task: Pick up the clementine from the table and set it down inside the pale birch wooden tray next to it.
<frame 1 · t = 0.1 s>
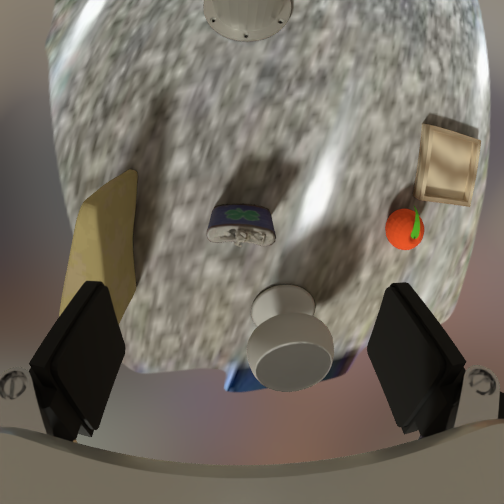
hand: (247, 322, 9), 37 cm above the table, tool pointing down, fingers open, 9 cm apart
chalice: (282, 309, 55), on the table
clementine: (396, 218, 48), on the table
flask: (241, 212, 46), on the table
cheese: (121, 230, 47), on the table
tray: (445, 165, 43), on the table
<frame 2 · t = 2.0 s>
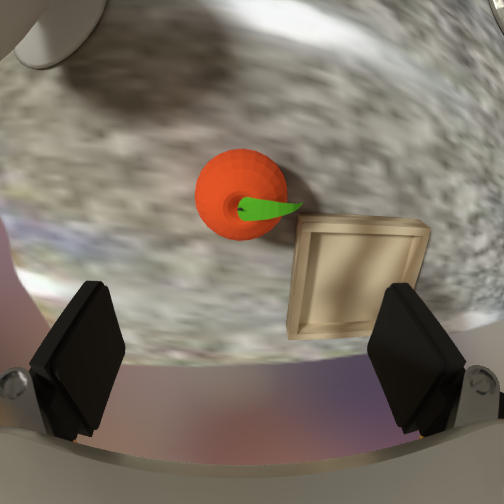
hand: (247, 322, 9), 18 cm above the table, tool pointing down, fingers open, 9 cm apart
chalice: (58, 14, 16), on the table
clementine: (247, 183, 25), on the table
tray: (352, 274, 29), on the table
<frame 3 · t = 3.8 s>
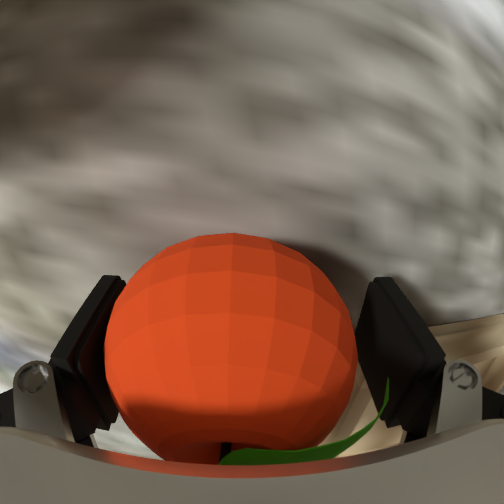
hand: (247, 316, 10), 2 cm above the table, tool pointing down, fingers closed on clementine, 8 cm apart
clementine: (246, 287, 11), on the table, touching gripper
tray: (413, 397, 15), on the table
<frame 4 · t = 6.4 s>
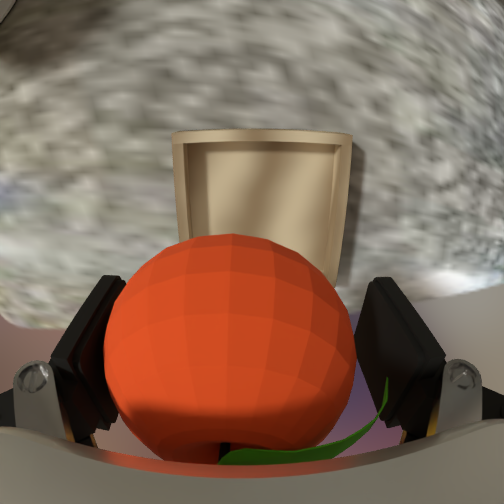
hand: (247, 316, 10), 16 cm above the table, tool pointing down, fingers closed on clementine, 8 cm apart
clementine: (246, 287, 11), point 14 cm above the table, touching gripper
tray: (260, 207, 24), on the table
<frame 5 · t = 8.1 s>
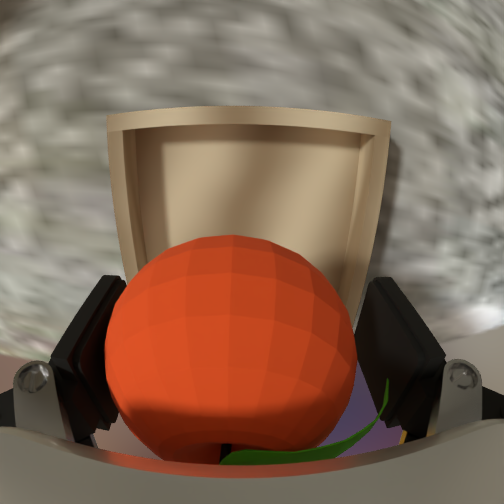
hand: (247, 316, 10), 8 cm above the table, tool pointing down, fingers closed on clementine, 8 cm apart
clementine: (246, 288, 11), point 6 cm above the table, touching gripper
tray: (246, 226, 16), on the table
when the fingers open (4 cm above the table, at t = 9.4 s): clementine drops 2 cm, resting on tray.
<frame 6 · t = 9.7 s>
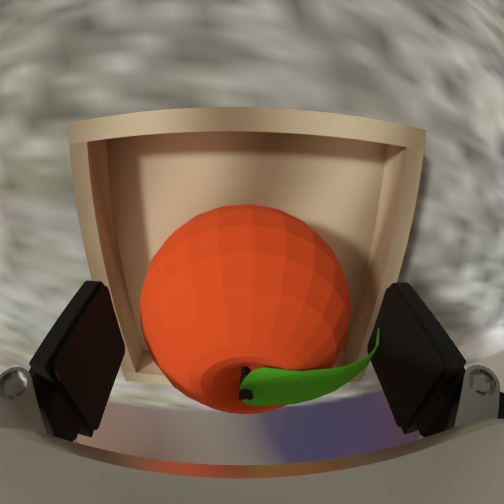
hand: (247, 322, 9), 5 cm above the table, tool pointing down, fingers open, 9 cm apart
clementine: (256, 258, 13), point 1 cm above the table, touching tray
tray: (244, 255, 14), on the table
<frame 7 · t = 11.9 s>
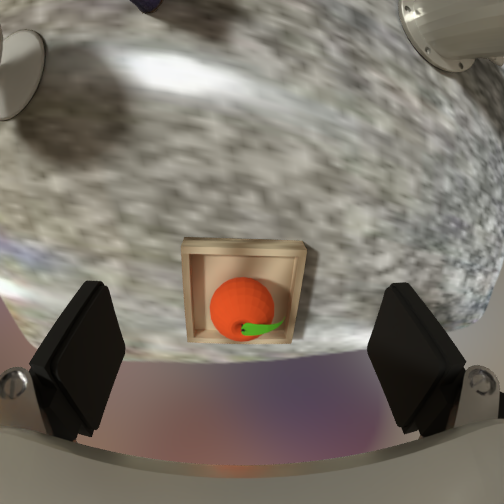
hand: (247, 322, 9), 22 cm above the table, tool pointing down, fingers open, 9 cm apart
chalice: (12, 74, 21), on the table
clementine: (245, 291, 35), point 1 cm above the table, touching tray
tray: (241, 289, 35), on the table
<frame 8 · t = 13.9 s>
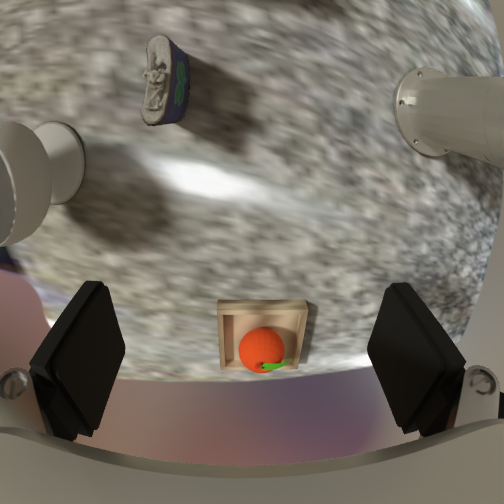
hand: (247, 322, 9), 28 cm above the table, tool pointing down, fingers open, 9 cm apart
chalice: (52, 162, 33), on the table
clementine: (263, 334, 46), point 1 cm above the table, touching tray
flask: (177, 86, 30), on the table
tray: (260, 332, 46), on the table
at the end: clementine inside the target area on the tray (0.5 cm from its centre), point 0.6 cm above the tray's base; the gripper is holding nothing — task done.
